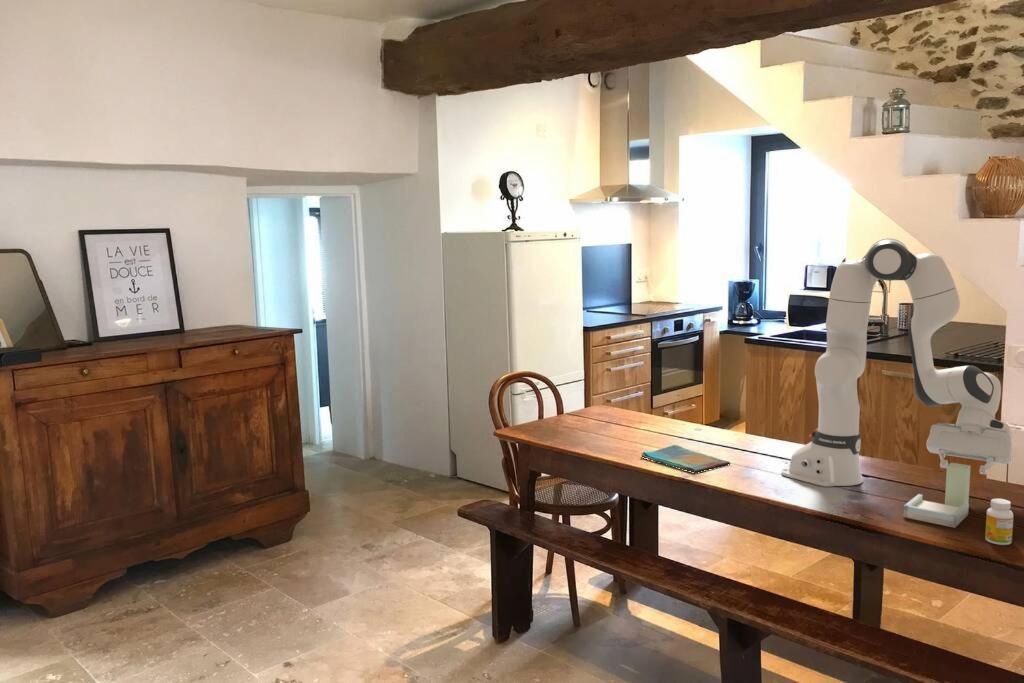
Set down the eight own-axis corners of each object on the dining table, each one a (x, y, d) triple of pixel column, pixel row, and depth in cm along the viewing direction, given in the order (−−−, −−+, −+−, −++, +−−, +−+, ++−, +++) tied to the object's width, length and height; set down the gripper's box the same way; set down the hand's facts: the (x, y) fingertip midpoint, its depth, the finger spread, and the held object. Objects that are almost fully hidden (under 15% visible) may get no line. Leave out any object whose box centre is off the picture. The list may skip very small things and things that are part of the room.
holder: (903, 517, 211) (903, 505, 210) (917, 504, 219) (918, 493, 219) (954, 527, 202) (955, 515, 202) (968, 514, 211) (968, 503, 211)
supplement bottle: (982, 536, 197) (984, 496, 196) (1008, 538, 195) (1010, 498, 194) (988, 544, 192) (990, 503, 191) (1014, 546, 190) (1017, 505, 189)
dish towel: (676, 450, 279) (676, 443, 278) (731, 466, 260) (731, 458, 259) (639, 459, 269) (639, 452, 268) (694, 476, 250) (694, 468, 249)
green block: (944, 506, 217) (946, 466, 216) (949, 502, 221) (951, 462, 219) (963, 510, 214) (965, 469, 213) (968, 506, 218) (970, 465, 216)
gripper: (930, 415, 230) (918, 457, 224) (1015, 425, 216) (1004, 470, 210) (934, 428, 234) (922, 469, 228) (1018, 438, 220) (1007, 483, 214)
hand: (962, 470), depth 219 cm, fingers open, 8 cm apart
